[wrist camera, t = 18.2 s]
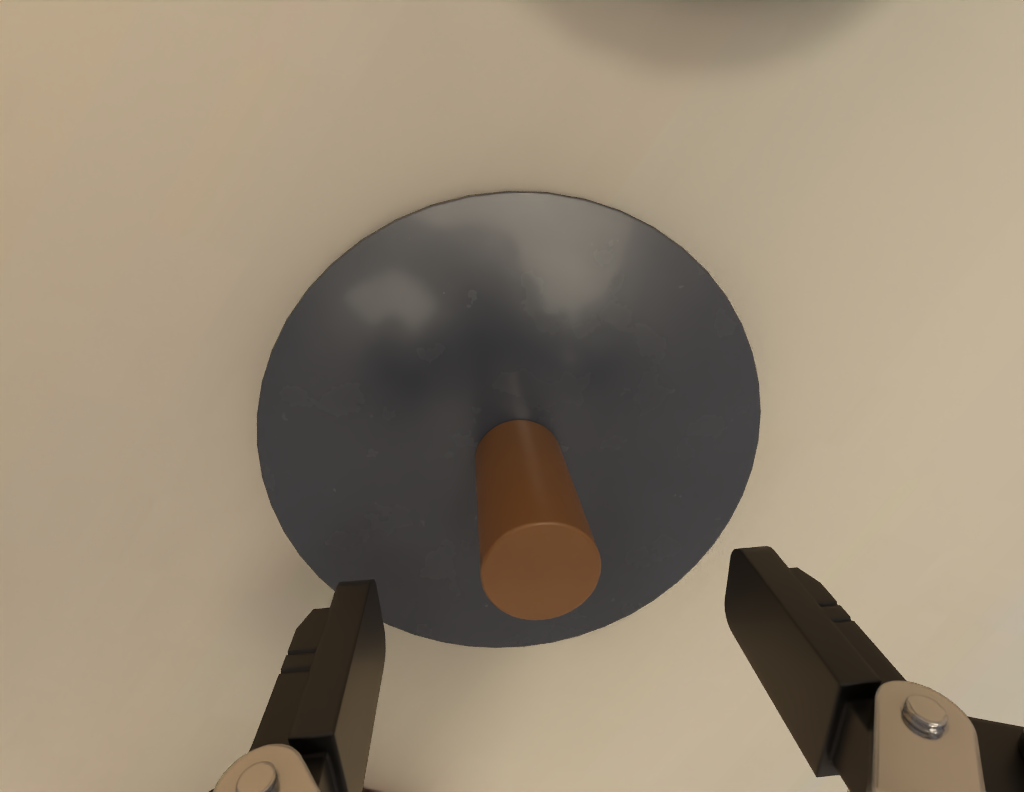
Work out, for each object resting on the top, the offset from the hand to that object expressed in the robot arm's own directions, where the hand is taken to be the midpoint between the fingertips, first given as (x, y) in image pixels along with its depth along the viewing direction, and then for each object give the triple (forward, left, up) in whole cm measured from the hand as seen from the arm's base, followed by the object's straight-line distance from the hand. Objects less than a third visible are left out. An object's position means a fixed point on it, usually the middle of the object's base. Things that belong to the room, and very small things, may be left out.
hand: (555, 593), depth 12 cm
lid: (0, 0, -8) cm, 8 cm away
